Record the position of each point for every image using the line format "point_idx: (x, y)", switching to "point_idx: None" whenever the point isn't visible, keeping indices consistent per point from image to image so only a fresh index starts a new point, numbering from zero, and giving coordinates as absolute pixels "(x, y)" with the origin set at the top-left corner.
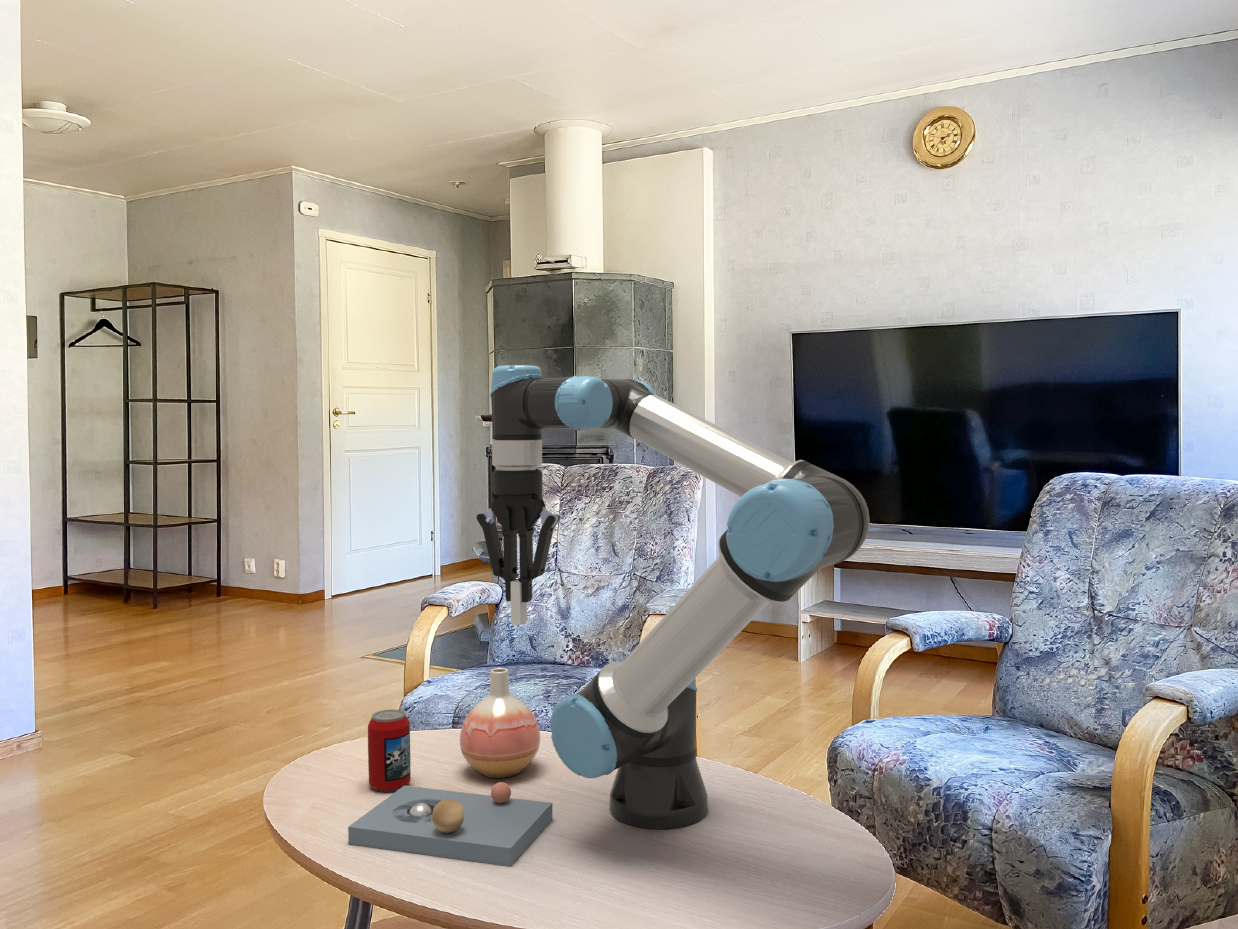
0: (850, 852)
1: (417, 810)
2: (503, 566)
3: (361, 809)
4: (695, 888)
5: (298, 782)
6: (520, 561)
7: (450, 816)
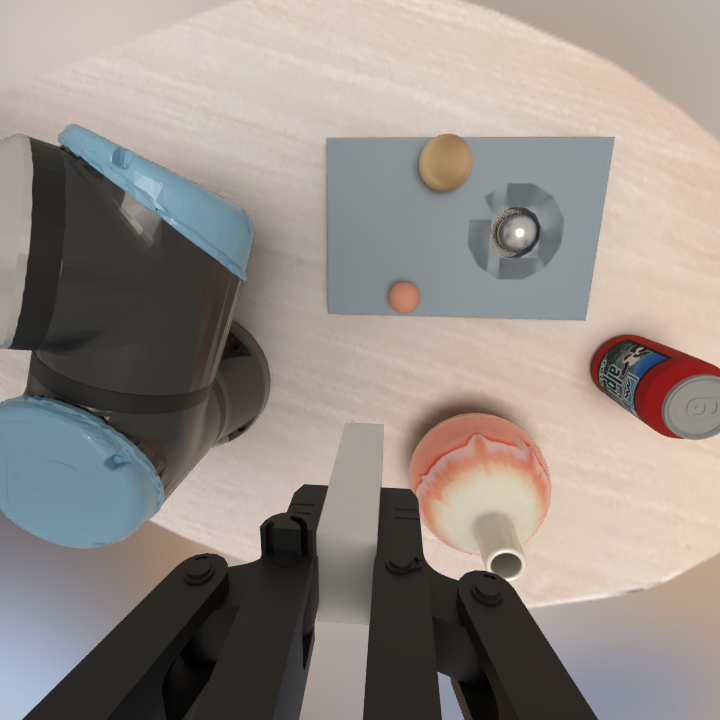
0: None
1: (520, 219)
2: (470, 692)
3: (633, 270)
4: None
5: None
6: (278, 658)
7: (432, 139)
